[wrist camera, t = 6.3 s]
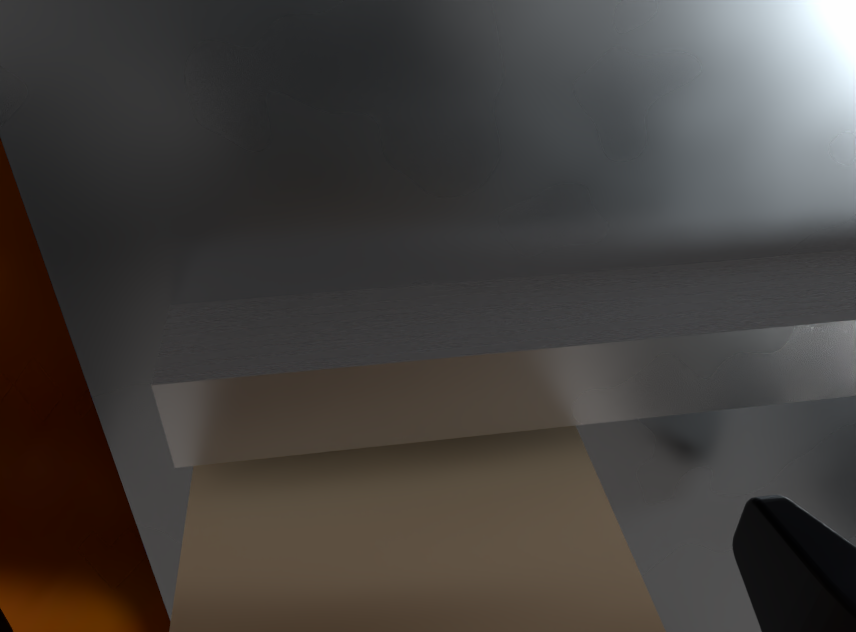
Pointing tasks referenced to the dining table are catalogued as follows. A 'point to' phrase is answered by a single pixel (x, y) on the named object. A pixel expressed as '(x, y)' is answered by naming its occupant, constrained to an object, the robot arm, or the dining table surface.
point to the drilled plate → (459, 244)
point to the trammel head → (410, 542)
